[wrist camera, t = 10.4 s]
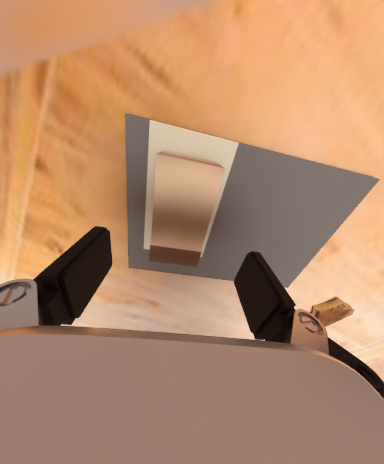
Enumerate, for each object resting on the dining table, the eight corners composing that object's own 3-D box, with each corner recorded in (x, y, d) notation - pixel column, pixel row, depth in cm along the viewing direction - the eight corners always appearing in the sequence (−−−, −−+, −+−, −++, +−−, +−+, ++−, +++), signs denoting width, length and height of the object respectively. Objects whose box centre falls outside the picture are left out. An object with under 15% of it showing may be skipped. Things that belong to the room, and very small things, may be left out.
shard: (302, 327, 35) (307, 336, 33) (283, 318, 32) (287, 327, 30) (350, 305, 30) (358, 314, 28) (331, 292, 28) (340, 301, 26)
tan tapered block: (163, 150, 13) (155, 153, 10) (216, 162, 14) (226, 169, 11) (156, 238, 19) (149, 260, 15) (195, 244, 19) (197, 266, 16)
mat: (285, 284, 25) (288, 288, 25) (130, 264, 22) (128, 268, 21) (373, 178, 16) (381, 179, 15) (127, 114, 13) (124, 113, 12)
